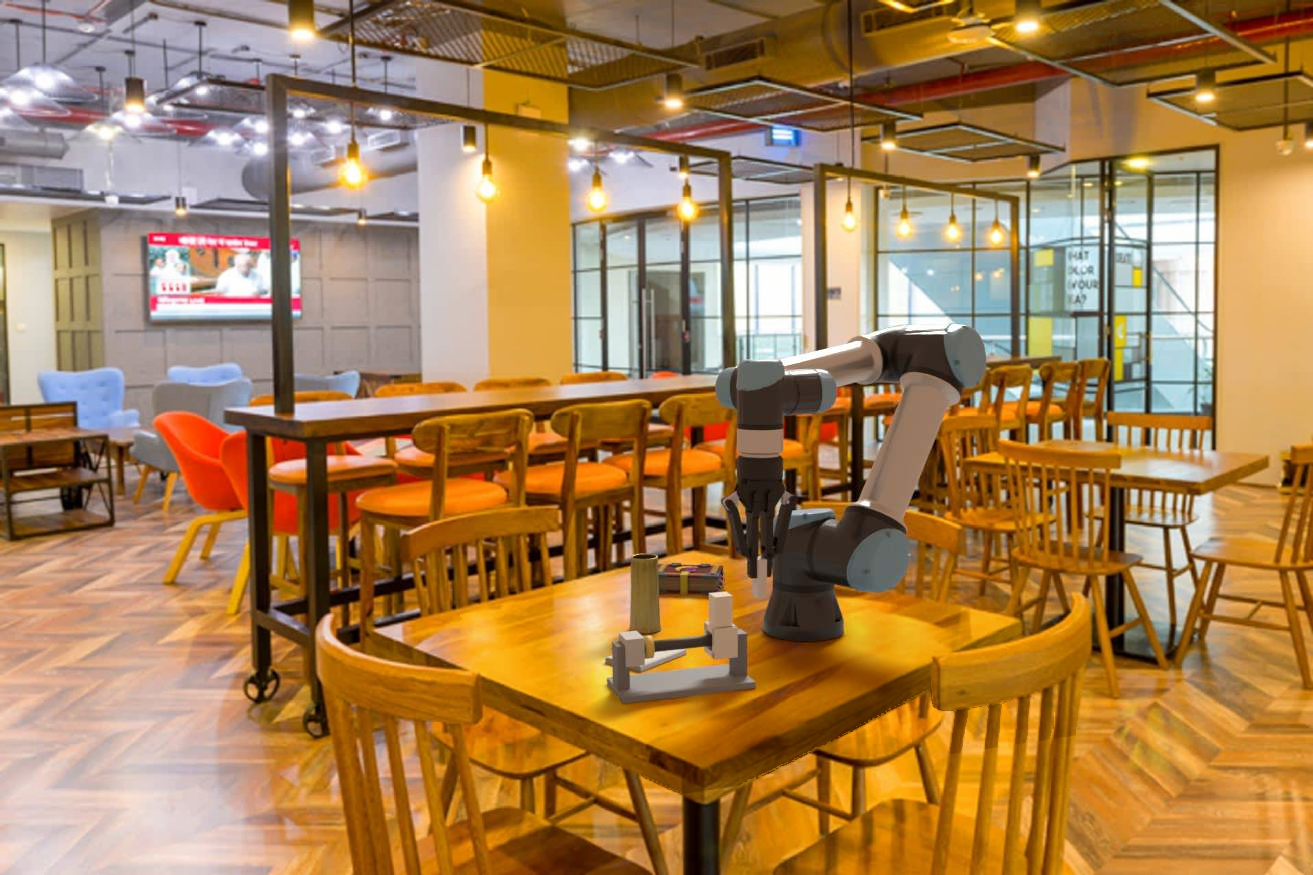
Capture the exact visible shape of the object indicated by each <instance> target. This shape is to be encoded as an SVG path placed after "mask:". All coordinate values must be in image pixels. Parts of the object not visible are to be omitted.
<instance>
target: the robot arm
mask: <svg viewBox="0 0 1313 875" xmlns="http://www.w3.org/2000/svg"><path fill="white" fill-rule="evenodd" d="M986 369H987V352H986V347H985V344H984V341H983V338H982V337H981V335H980V334H979V332H978V331H977V330H976V329H975V328H974V327H972V326H970V325H966V324H956V323H952V322H951V323H948V324H913V323H912V324H911V323H907V324H906V323H905V324H898V325H894V326H890V327H886V328H885V327H884V328H881V329H878V330H874V331H871V332H868V333H864V334H860V335H856V336H854V337H851V338H850V339H849V340H848V341H847V343H846V344H845V343H844V344H841V345H836V346H833V347H828V348H824V349H819V350H816V351H812V352H807V353H803V354H798V355H794V356H789V357H786V358H781V359H778V358H777V359H776V358H775V359H774V358H773V359H772V358H753V359H750V358H749V359H747V358H746V359H742V360H741V361H740V362H739V363H738V366H733V367H727V368H724V369H722V371H721V372H720V373H719V374H718V376H717V378H716V380H715V385H714V389H715V391H714V392H715V397H716V399H717V402H719V404H721V406H723V407H724V408H727V409H730V410H735V411H736V417H737V418H736V421H737V422H736V423H737V424H736V451H737V453H739V455H738V456H737V457H736V485H735V487H734V488H733V491H734V492H733V493H731V494H730V495H729V496H727V497H723V498H721V500H720V503H721V504H722V506H723V507H724V510H725V511H726V514H727V517H728V521H729V522H728V523H729V527H730V532H731V536H732V539H733V540H732V541H733V544H734V547H735V549H734V550H735V552H736V554H738V555H740V556H742V557H745V558H746V566H747V567H746V574H747V576H748V578H750V579H751V595H752V597H754V598H756V599H757V600H766V599H768V594H767V593H768V578H771V577H772V589H771V590H772V591H771V594H770V597H769V600H768V603H767V605H766V609H765V612H764V615H763V620H762V622H763V624H762V626H763V627H762V628H763V629H762V630H763V632H765V634H767V635H769V636H771V637H773V638H777V639H782V640H787V641H794V642H818V641H819V642H820V641H826V640H832V639H835V638H838V637H840V636H842V635H843V633H844V632H845V630H844V628H845V626H844V624H845V623H844V617H843V614H842V611H841V608H840V604H839V601H838V598H837V594H836V591H835V589H836V588H835V585H836V586H840V587H843V588H844V587H845V588H849V589H852V590H853V589H854V590H855V591H857V592H863V593H874V594H880V593H885V592H887V591H889V590H891V589H894V588H895V587H896V586H897V585H898V584H899V583H900V582H902V580H903V578H904V577H905V575H906V574H907V571H908V569H909V566H910V562H911V557H912V556H911V554H910V552H911V551H912V549H911V548H912V547H911V543H910V542H911V541H909V538H908V537H907V532H908V527H907V525H906V523H905V520H904V517H905V516H906V512H907V510H908V507H909V506H910V503H911V500H912V498H913V494H914V493H915V489H916V487H917V486H918V485H917V484H918V482H919V480H920V477H921V476H922V472H923V470H924V467H925V464H926V462H927V459H928V458H929V455H930V452H931V450H932V448H933V445H934V442H935V440H936V438H937V435H938V433H939V431H940V427H941V425H942V422H943V421H944V418H945V416H946V413H947V411H948V408H949V407H953V406H954V405H957V404H958V403H959V402H960V400H961V398H962V396H963V392H964V390H965V388H966V389H971V388H975V387H976V386H979V385H980V383H981V382H982V381H983V379H984V377H985V375H986V374H985V373H986ZM854 383H857V384H859V385H870V384H874V383H875V384H876V383H889V384H900V385H901V388H902V389H903V392H902V395H901V397H900V400H899V402H898V405H897V406H896V409H895V412H894V414H893V416H892V418H891V421H890V424H889V426H888V428H887V431H886V433H885V435H884V437H883V439H882V443H881V445H880V447H879V450H878V452H877V454H876V457H875V459H874V462H873V464H872V467H871V469H870V471H869V474H868V476H867V478H866V481H865V484H864V486H863V489H862V490H861V493H860V496H858V497H859V498H858V500H857V501H856V502H851V503H849V504H848V505H846V507H845V509H844V512H843V514H842V517H841V519H839V520H838V519H836V518H837V515H836V513H835V510H834V509H832V508H822V507H821V508H820V507H819V508H806V509H797V510H794V508H795V506H796V505H797V503H798V502H799V497H798V496H796V495H794V494H791V493H790V492H788V491H787V490H786V486H785V484H784V481H783V479H784V458H783V456H782V455H781V454H782V453H784V427H785V426H784V421H785V420H784V418H785V417H786V416H799V415H800V416H801V415H813V416H814V415H817V414H821V413H825V412H827V411H829V410H830V409H831V408H832V407H833V406H834V404H835V402H836V401H837V397H838V388H839V387H842V386H847V385H852V384H854ZM739 502H740V503H741V505H742V506H743V507H744V514H745V518H746V519H745V520H746V521H745V531H744V527H743V524H742V519H741V518H742V517H741V514H740V511H739V510H738V508H739V505H740V504H739ZM779 502H780V503H781V504H780V506H779V509H778V513H777V514H776V515H775V511H776V510H775V508H776V506H777V505H778V503H779ZM759 521H760V522H759ZM759 523H760V524H759ZM759 525H760V527H759ZM759 529H760V532H759ZM759 533H760V540H759ZM759 541H760V544H759ZM759 545H760V548H759ZM759 550H760V555H759Z"/></svg>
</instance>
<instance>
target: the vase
mask: <svg viewBox="0 0 1313 875" xmlns="http://www.w3.org/2000/svg"><path fill="white" fill-rule="evenodd" d="M658 564H659V556H658V555H657V554H653V553H636V554H632V555H631V556H630V603H629V604H630V611H629V617H630V618H629V631H637V632H638V633H639V634H641V635H643V634H654V633H657V632H659V631H661V630H662V625H661V610H660V593H659V578H658Z"/></svg>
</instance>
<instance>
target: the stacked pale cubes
mask: <svg viewBox="0 0 1313 875" xmlns="http://www.w3.org/2000/svg"><path fill="white" fill-rule="evenodd" d="M733 602H734V601H733V595H732V594H730V593H729V592H728V591H722V592H715V593H709V595H708V620H707V621H704V622H703V626H704V627H703V628H704V629H703V636H704V635H712V646H707V647H703V648H704V649H703V650H704V652H705V653H706V655H708V656H710V657H711V659H713V660H714V661H715V660H716V661H717V660H724V659H725V660H726V659H729V658H735V657H738V629H739V628H738V626H737V625H736V624H734V623H733V622H734V621H733V620H734V619H733V618H734V617H733V615H734V614H733Z"/></svg>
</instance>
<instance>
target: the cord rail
mask: <svg viewBox="0 0 1313 875" xmlns="http://www.w3.org/2000/svg"><path fill="white" fill-rule="evenodd" d="M707 646H712V635H704V634H703V635H695V636H686V637H678V638H677V637H676V638H667V639H657V640H654V638H653V636H652V635H651V634H650V635H649V634H648V635H643V634H642V633H638V632H637V631H630V630H629V631H622V632H618V640H617V641H616V640H615V641H612V642H611V649H612V650H611V651H612V652H611V656H612V664H611V665H612V666H611V667H612V676H610V677H606V681H607V682H606V684H607V685H608V687H609V688H610V689H611V690H612V692H614V694H615V695H616V696H617V698H619V700H620V701H621V702H622V703H623V704H632V703H633V704H634V703H642V702H649V701H659V700H665V699H666V700H667V699H674V698H682V697H684V698H685V697H692V696H699V695H706V694H717V693H722V692H723V693H725V692H732V691H739V690H748V689H749V690H750V689H755V688H757V687H756V685H757V684H756V683H757V681H755V680H754V679H753V678H751V677H750V676H749V675H748V632H746V631H744V630H743V629H742V628H738V657H735V658H728V660H729V661H728V663H724V664H718V665H717V664H715V665H708V666H707V665H706V666H698V667H691V668H680V669H673V670H664V671H663V670H662V671H654V672H645V673H636V674H631V672H630V671H631V669H630V667H634V666H643V665H645V659H649V658H653V657H654V654H655V652H660V651H670V650H679V649H686V650H687V649H696V648H697V649H698V648H704V647H707Z"/></svg>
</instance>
